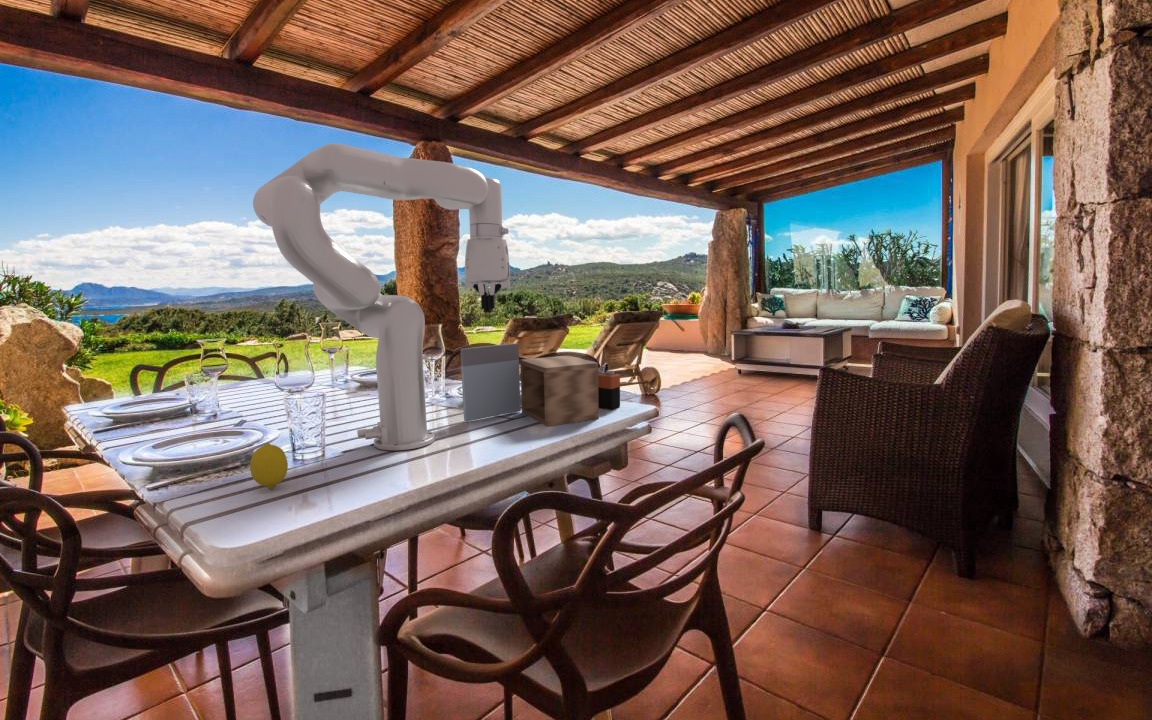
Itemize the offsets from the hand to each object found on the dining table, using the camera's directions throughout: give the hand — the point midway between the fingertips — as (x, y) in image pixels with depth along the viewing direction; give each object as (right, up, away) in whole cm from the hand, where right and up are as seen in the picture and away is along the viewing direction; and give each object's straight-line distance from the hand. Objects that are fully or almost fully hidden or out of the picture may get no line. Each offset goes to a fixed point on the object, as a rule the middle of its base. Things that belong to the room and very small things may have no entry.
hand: (488, 311), depth 131 cm
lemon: (-31, -34, -38) cm, 59 cm away
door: (0, -26, +9) cm, 27 cm away
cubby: (+17, -26, +9) cm, 32 cm away
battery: (+29, -24, +18) cm, 42 cm away
